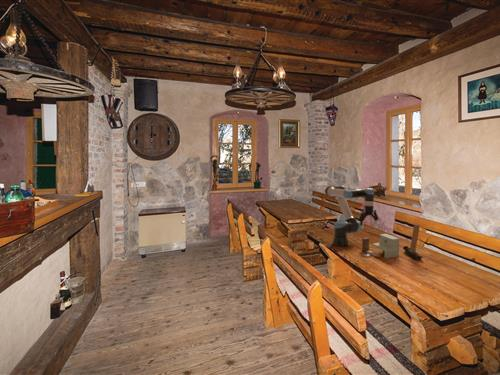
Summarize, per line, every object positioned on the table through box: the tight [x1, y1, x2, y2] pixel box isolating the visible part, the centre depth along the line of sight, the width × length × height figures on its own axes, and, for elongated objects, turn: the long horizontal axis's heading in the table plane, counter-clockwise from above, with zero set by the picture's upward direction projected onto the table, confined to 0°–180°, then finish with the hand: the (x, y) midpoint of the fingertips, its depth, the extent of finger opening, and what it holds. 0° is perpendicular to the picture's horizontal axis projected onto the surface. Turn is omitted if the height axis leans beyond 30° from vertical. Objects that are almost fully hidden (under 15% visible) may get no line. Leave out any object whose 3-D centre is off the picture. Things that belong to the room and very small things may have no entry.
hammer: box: [402, 223, 424, 260], centre depth 230 cm, size 20×5×30 cm, turn 1°
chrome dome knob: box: [363, 252, 372, 258], centre depth 237 cm, size 6×6×2 cm
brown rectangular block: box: [361, 237, 381, 258], centre depth 242 cm, size 18×4×12 cm, turn 18°
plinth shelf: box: [371, 233, 400, 259], centre depth 239 cm, size 16×14×16 cm
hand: (368, 227), depth 248 cm, fingers open, 13 cm apart
